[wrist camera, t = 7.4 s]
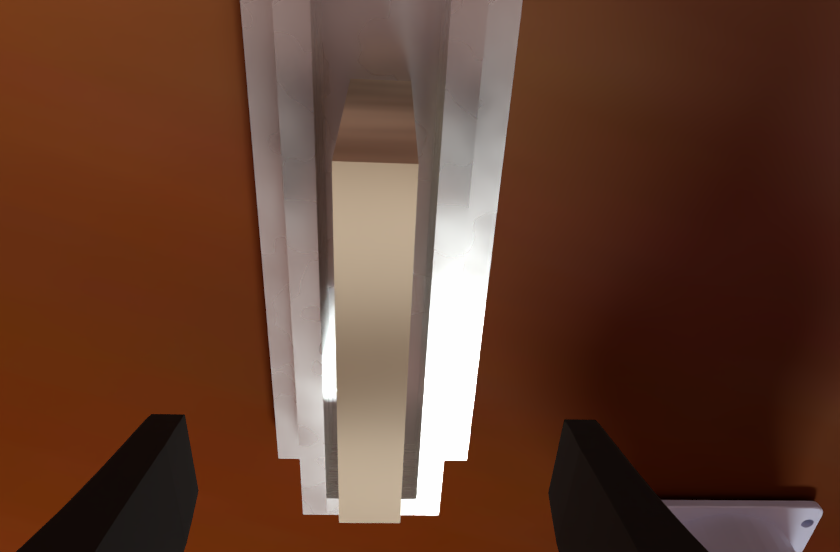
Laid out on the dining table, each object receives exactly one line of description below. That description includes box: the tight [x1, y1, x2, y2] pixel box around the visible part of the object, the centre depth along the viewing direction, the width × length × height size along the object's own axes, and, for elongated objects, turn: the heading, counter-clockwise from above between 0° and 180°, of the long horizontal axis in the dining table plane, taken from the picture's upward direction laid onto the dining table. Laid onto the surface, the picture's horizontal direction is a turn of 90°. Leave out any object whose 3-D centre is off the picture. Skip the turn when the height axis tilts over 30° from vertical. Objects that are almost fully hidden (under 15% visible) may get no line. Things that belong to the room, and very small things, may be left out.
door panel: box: [332, 79, 419, 523], centre depth 17 cm, size 10×2×6 cm, turn 177°
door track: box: [240, 0, 523, 515], centre depth 19 cm, size 18×7×4 cm, turn 177°
